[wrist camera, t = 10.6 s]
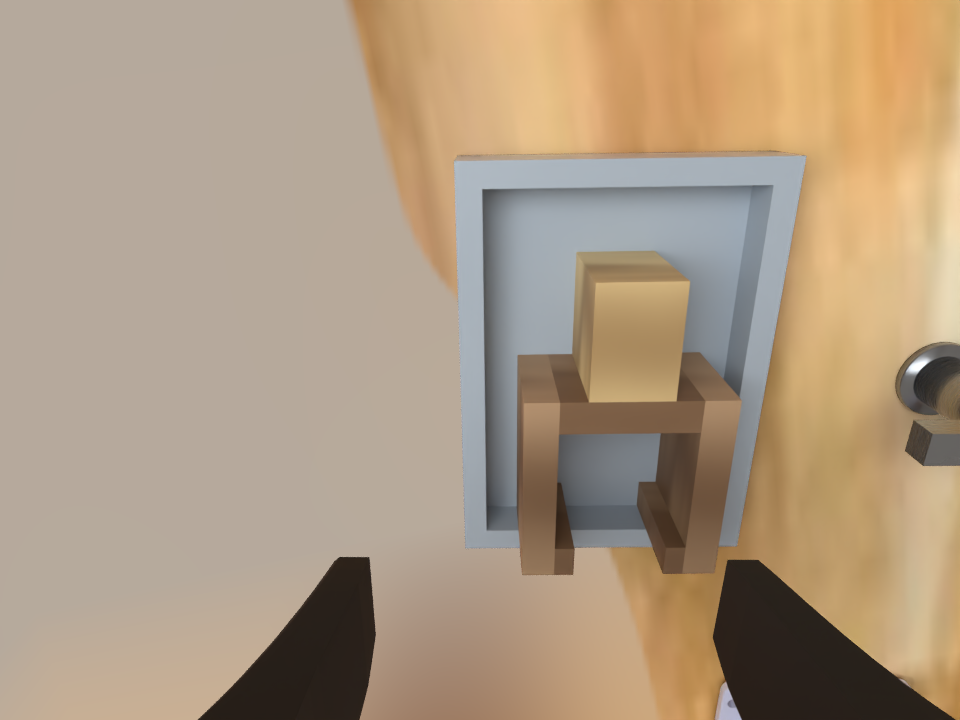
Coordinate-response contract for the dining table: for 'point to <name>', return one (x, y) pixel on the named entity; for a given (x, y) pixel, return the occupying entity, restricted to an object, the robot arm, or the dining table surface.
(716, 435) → the wooden stool frame
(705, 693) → the dining table surface
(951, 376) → the grey lever handle
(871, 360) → the dining table surface
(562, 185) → the tray
